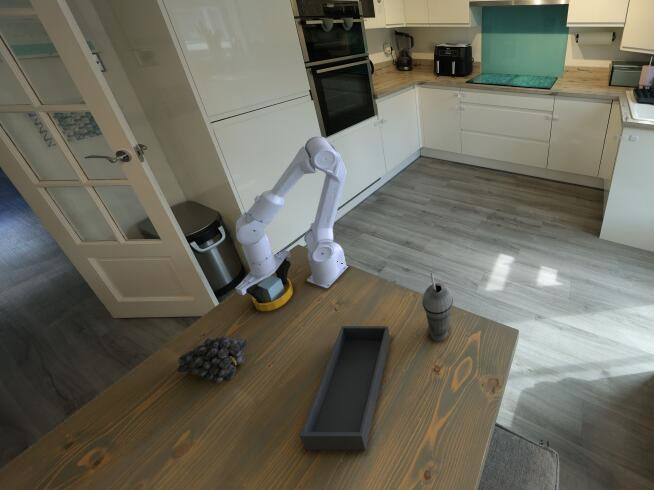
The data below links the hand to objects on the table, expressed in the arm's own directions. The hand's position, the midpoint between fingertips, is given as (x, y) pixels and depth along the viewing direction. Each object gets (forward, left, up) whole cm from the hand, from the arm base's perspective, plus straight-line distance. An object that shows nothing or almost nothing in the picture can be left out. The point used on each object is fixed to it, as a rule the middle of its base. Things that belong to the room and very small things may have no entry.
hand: (272, 292), depth 87 cm
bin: (+10, +36, -2) cm, 38 cm away
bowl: (0, 0, -2) cm, 2 cm away
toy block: (0, 0, -1) cm, 1 cm away
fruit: (+18, +4, -2) cm, 19 cm away
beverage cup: (-8, +48, -2) cm, 49 cm away
